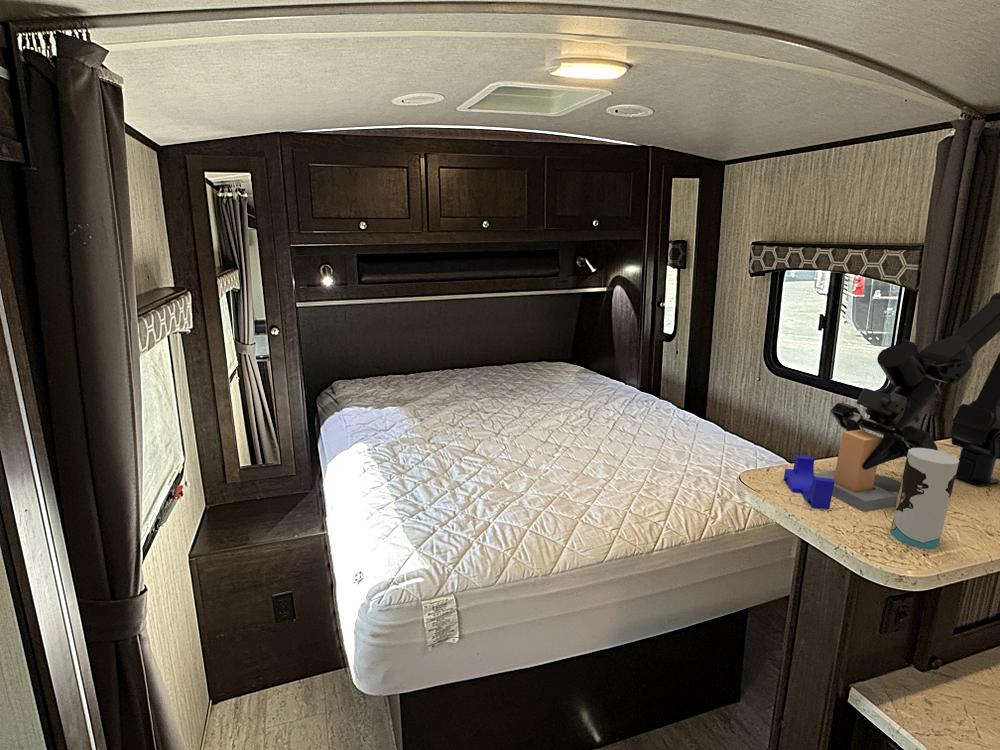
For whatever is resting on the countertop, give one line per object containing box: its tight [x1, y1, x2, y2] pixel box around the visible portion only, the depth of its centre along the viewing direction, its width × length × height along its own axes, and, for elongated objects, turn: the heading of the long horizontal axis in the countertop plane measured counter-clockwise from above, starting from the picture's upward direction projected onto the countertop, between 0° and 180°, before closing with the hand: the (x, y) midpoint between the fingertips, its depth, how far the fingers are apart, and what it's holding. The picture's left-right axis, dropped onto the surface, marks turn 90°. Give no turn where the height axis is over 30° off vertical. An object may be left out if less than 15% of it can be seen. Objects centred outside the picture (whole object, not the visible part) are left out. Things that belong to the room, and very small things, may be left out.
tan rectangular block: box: [834, 430, 883, 493], centre depth 114 cm, size 5×5×12 cm
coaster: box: [873, 474, 902, 493], centre depth 122 cm, size 8×8×1 cm
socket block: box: [814, 470, 898, 512], centre depth 116 cm, size 8×12×2 cm, turn 20°
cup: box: [890, 448, 959, 550], centre depth 99 cm, size 7×7×15 cm
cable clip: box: [783, 454, 834, 510], centre depth 115 cm, size 12×4×6 cm, turn 171°
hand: (851, 462), depth 114 cm, fingers closed on tan rectangular block, 5 cm apart
